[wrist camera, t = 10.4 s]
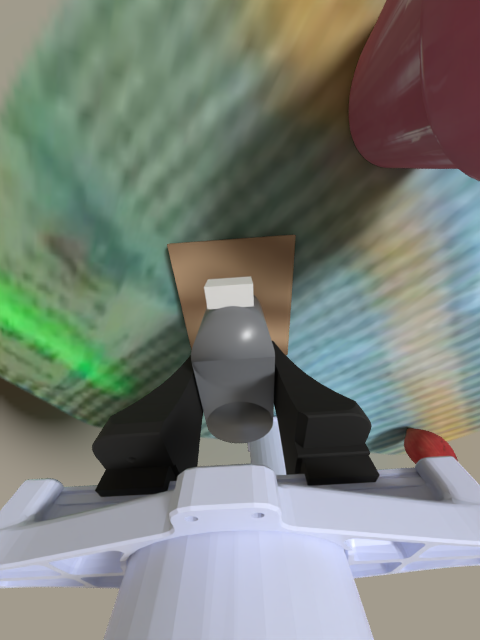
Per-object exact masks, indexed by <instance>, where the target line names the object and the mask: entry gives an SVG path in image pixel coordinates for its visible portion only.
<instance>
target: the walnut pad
mask: <svg viewBox="0 0 480 640" xmlns="http://www.w3.org/2000/svg"><path fill="white" fill-rule="evenodd" d="M295 237H296V235H281V236H267V237H254V238H240V239H226V240H213V241H199V242H185V243H171V244H167V246H168V251H169V255H170V259H171V263H172V268H173V272H174V276H175V281H176V285H177V289H178V294H179V298H180V302H181V306H182V311H183V315H184V319H185V324H186V328H187V332H188V337H189V341H190V345H191V349H192V347H193V344H194V342H195V339H196V336H197V333H198V330H199V327H200V325H201V322H202V319H203V316H204V313H205V311H206V308H207V303H206V296H205V290H204V286H205V284H206V282H207V280H208V279H222V278H236V277H250V276H251V278H252V282H253V294H254V295H255V296H256V298H257V299H258V300H259V302H260V305H261V308H262V311H263V314H264V317H265V321H266V324H267V327H268V331H269V334H270V337H271V340H272V341H274V342H275V343H276V345H277V346H278V347H279V348H280V349H281V351H282V352H283V353H284V354H285V355H287V354H288V339H289V325H290V310H291V296H292V281H293V266H294V252H295Z"/></svg>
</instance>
